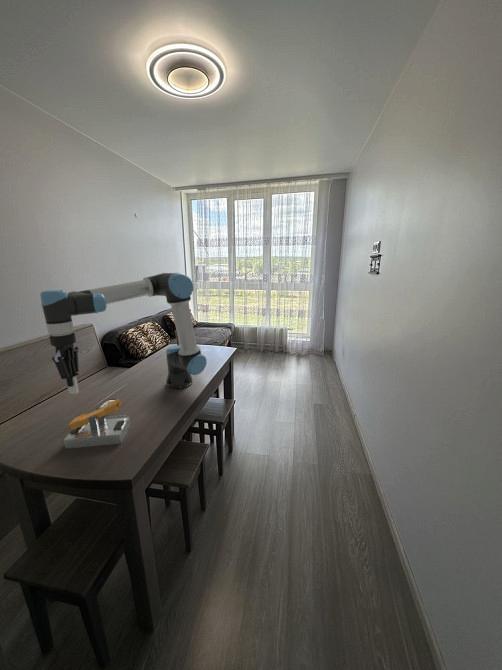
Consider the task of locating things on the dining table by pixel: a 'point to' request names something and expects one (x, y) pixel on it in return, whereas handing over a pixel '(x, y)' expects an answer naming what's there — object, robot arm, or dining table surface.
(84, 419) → the lever
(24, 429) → the dining table surface
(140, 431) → the dining table surface
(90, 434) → the grey bracketed base
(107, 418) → the grey rod
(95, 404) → the dining table surface
